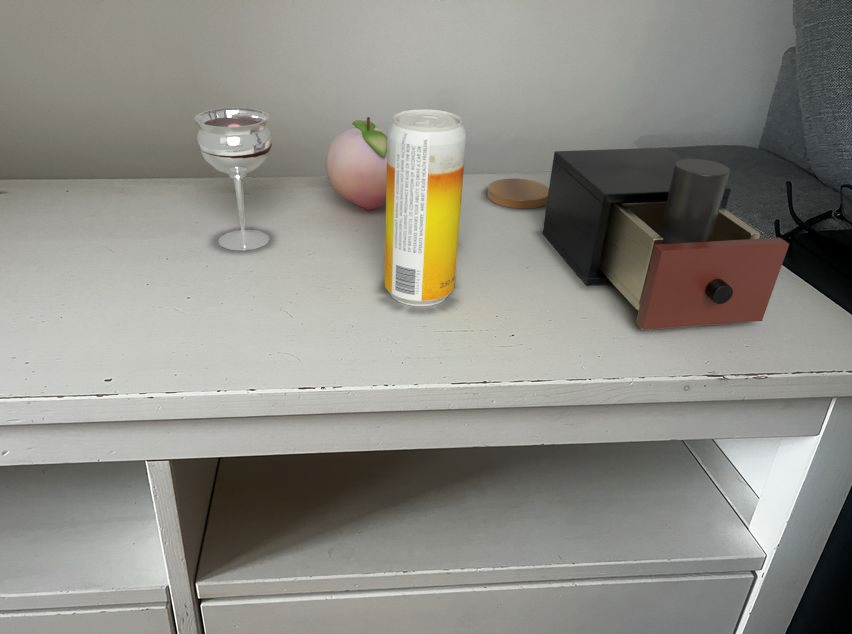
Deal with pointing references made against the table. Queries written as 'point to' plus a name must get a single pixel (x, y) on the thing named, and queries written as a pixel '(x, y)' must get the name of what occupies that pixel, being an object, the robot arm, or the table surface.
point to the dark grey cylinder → (693, 201)
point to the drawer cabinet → (600, 198)
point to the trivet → (518, 193)
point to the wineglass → (235, 158)
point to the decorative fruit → (359, 164)
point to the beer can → (423, 205)
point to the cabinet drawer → (689, 269)
